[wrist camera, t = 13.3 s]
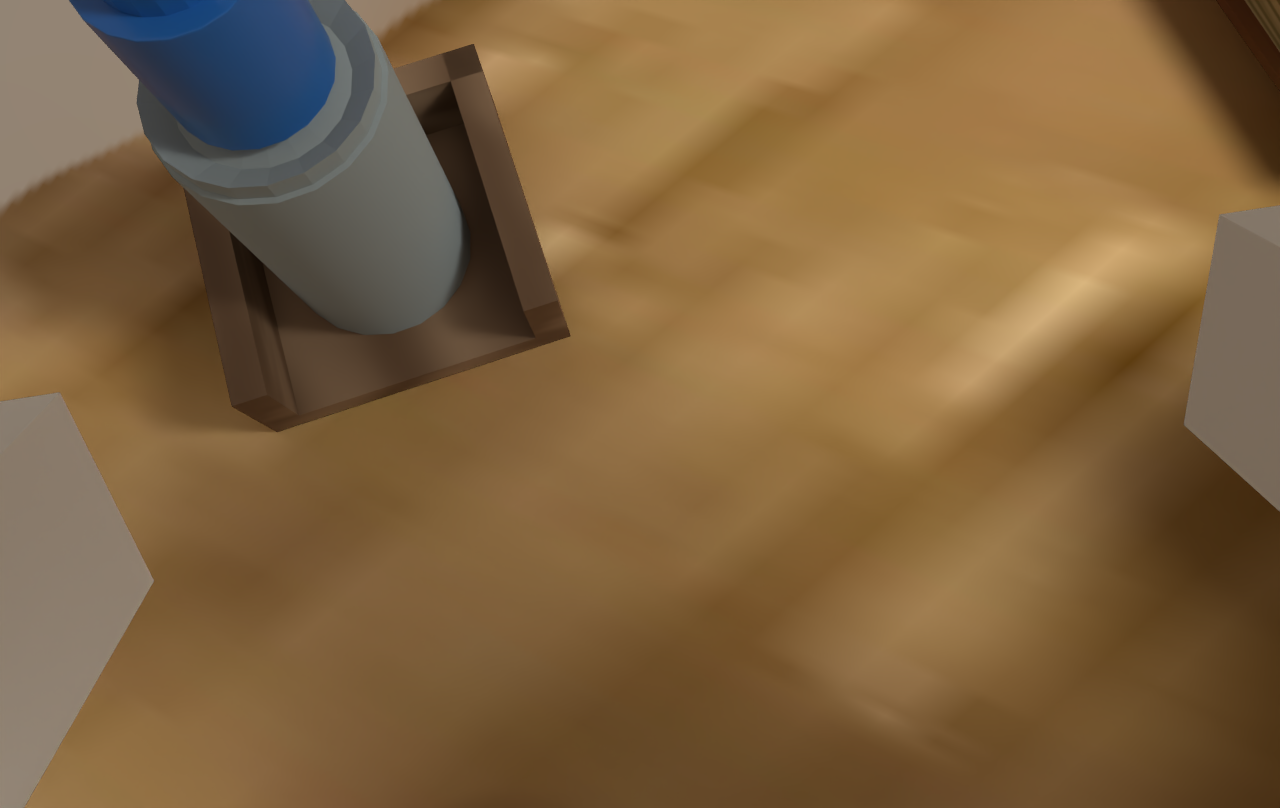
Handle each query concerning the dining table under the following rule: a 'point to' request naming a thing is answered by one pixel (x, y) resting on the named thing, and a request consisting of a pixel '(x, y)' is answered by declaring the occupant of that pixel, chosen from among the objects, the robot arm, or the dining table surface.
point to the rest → (439, 347)
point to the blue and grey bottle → (297, 148)
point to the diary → (1258, 30)
